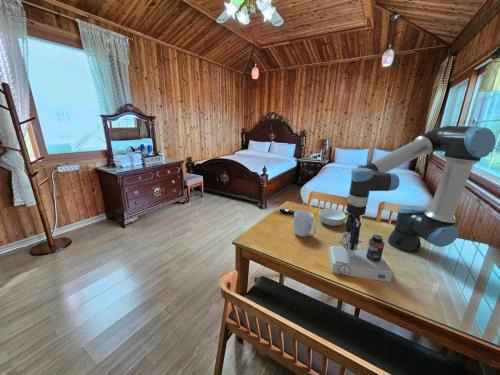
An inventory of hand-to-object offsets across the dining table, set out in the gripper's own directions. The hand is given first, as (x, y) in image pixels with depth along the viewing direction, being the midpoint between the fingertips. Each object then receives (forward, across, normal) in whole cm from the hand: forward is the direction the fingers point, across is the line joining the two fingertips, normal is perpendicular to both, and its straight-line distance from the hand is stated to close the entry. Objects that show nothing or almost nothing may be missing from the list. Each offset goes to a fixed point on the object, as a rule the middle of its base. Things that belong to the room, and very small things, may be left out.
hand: (348, 249), depth 101 cm
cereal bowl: (+9, -45, -2) cm, 46 cm away
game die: (0, 0, 0) cm, 1 cm away
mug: (+9, -24, -20) cm, 32 cm away
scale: (+9, 0, +5) cm, 10 cm away
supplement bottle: (+3, 0, +11) cm, 12 cm away
